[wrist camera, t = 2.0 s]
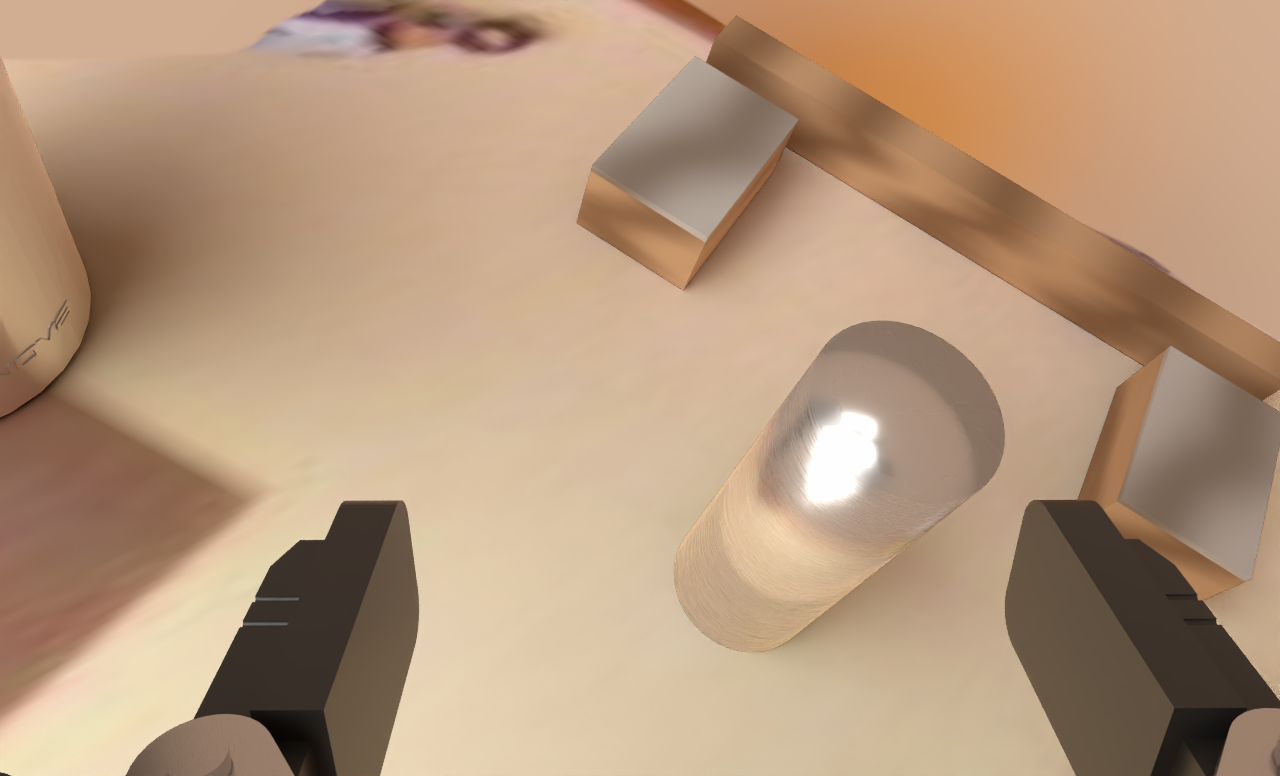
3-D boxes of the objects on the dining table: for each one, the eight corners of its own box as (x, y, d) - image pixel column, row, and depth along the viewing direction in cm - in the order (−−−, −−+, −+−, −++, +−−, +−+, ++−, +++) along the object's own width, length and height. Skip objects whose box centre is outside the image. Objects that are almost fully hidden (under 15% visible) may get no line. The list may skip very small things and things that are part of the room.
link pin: (647, 596, 32) (777, 423, 22) (715, 487, 34) (859, 287, 24) (774, 681, 31) (965, 545, 21) (833, 564, 34) (1029, 393, 24)
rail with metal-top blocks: (576, 222, 39) (592, 165, 36) (716, 68, 45) (738, 9, 43) (1184, 608, 36) (1251, 578, 34) (1240, 387, 43) (1300, 347, 40)
